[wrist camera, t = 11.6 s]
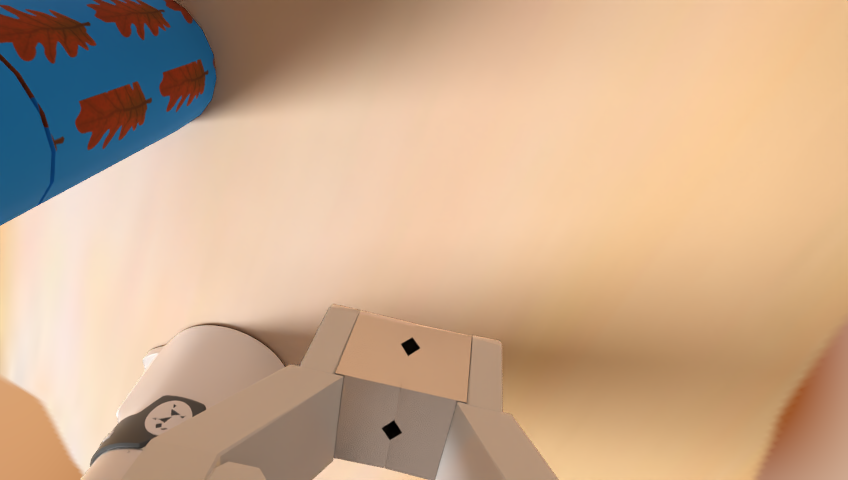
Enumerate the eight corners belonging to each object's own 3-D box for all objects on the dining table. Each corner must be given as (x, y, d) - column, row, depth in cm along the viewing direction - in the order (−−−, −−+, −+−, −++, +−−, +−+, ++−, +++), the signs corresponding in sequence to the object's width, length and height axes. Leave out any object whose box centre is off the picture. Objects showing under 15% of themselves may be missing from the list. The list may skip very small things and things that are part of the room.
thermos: (123, -52, 36) (-434, -64, 15) (244, 59, 39) (-75, 188, 17) (65, 60, 41) (-422, 176, 19) (176, 152, 44) (-141, 344, 22)
